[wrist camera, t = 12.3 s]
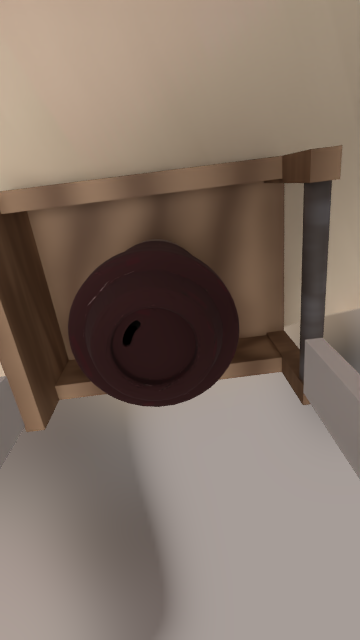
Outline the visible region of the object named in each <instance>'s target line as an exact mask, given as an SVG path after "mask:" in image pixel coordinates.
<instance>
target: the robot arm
mask: <svg viewBox="0 0 360 640" xmlns="http://www.w3.org/2000/svg"><path fill="white" fill-rule="evenodd" d="M303 393H304V394H305V396H306V397H307V399H308V400H309V402H310V404H311V405H312V407H313V408H314V410H315V411H316V413H317V414H318V416H319V417H320V419H321V420H322V422H323V423H324V425H325V427H326V428H327V430H328V431H329V433H330V434H331V436H332V437H333V439H334V440H335V442H336V443H337V445H338V446H339V448H340V450H341V451H342V453H343V454H344V456H345V457H346V459H347V460H348V462H349V463H350V465H351V466H352V468H353V469H354V471H355V473H356V474H357V476H358V477H359V478H360V374H359V373H358V372H357V371H356V370H355V369H354V368H353V367H352V366H351V365H350V364H349V363H348V362H347V361H346V360H345V359H344V358H343V357H342V356H340V354H339V353H338V352H336V351H335V349H334V348H333V347H332V346H331V345H330V344H329V343H328V342H327V341H326V340H325V339H324V338H316V339H307V340H305V358H304V388H303ZM24 427H25V425H24V422H23V420H22V417H21V414H20V412H19V409H18V406H17V404H16V401H15V398H14V396H13V393H12V390H11V387H10V385H9V382H8V379H7V377H6V376H4V377H0V468H1V467H2V465H3V463H4V462H5V460H6V458H7V456H8V455H9V453H10V451H11V449H12V448H13V446H14V444H15V442H16V440H17V439H18V437H19V436H20V434H21V432H22V430H23V429H24Z"/></svg>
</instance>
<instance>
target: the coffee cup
mask: <svg viewBox="0 0 360 640" xmlns="http://www.w3.org/2000/svg"><path fill="white" fill-rule="evenodd" d="M68 336H69V342H70V347H71V350H72V353H73V355H74V358H75V360H76V362H77V364H78V365H79V367H80V369H81V370H82V371H83V373H84V374H85V375H86V376H87V378H88V379H89V380H90V381H91V382H92V383H93V384H94V385H96V386H97V387H98V388H99V389H101V390H102V391H104V392H105V393H107V394H108V395H110V396H112V397H114V398H116V399H118V400H121V401H124V402H127V403H130V404H135V405H140V406H154V407H160V406H168V405H175V404H178V403H181V402H184V401H187V400H190V399H192V398H194V397H196V396H198V395H200V394H202V393H203V392H204V391H206V390H207V389H209V388H210V387H211V386H212V385H214V384H215V383H216V382H217V381H218V380H219V379H220V378H221V376H222V375H223V374H224V373H225V371H226V370H227V369H228V367H229V365H230V363H231V361H232V359H233V357H234V355H235V352H236V349H237V345H238V340H239V318H238V313H237V309H236V306H235V303H234V300H233V298H232V296H231V294H230V292H229V291H228V289H227V287H226V286H225V284H224V283H223V281H222V280H221V279H220V277H219V276H218V275H217V274H216V273H215V272H214V271H213V270H212V269H211V268H210V267H209V266H208V265H207V264H205V263H204V262H202V261H201V260H199V259H198V258H196V257H194V256H192V255H191V254H190V253H189V252H188V251H186V250H185V249H184V248H182V247H180V246H179V245H177V244H175V243H173V242H170V241H167V240H162V239H152V240H147V241H144V242H141V243H139V244H137V245H134V246H133V247H131V248H129V249H127V250H126V251H125V252H122V253H120V254H117V255H115V256H113V257H111V258H110V259H108V260H106V261H105V262H104V263H102V264H101V265H100V266H98V267H97V268H96V269H95V270H94V271H93V272H92V273H91V274H90V275H89V277H88V278H87V279H86V280H85V282H84V283H83V284H82V286H81V287H80V289H79V290H78V292H77V294H76V296H75V298H74V300H73V302H72V306H71V309H70V313H69V320H68Z"/></svg>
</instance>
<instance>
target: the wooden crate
mask: <svg viewBox="0 0 360 640" xmlns="http://www.w3.org/2000/svg"><path fill="white" fill-rule="evenodd" d="M341 157H342V145H341V146H333V147H325V148H317V149H310V150H306V151H301V152H297V153H292V154H288V155H284V156H277V157H269V158H261V159H253V160H245V161H238V162H230V163H222V164H214V165H206V166H198V167H190V168H182V169H174V170H166V171H159V172H151V173H143V174H135V175H127V176H119V177H111V178H103V179H95V180H88V181H80V182H72V183H64V184H56V185H48V186H40V187H32V188H24V189H16V190H9V191H1V192H0V362H1V365H2V367H3V370H4V373H5V375H6V377H7V379H8V382H9V385H10V387H11V390H12V393H13V396H14V398H15V401H16V404H17V406H18V409H19V412H20V414H21V417H22V420H23V422H24V425H25V429H26V431H27V432H30V431H38V430H45V428H46V426H47V424H48V422H49V420H50V418H51V416H52V414H53V412H54V410H55V407H56V405H57V403H58V401H59V400H62V399H70V398H78V397H85V396H94V395H102V394H107V393H105V392H104V391H102V390H101V389H99V388H98V387H97V386H96V385H94V384H93V383H92V382H91V381H90V380H89V379H88V378H87V376H86V375H85V374H84V373H83V371H82V370H81V369H80V367H79V365H78V364H77V362H76V360H75V358H74V355H73V353H72V350H71V347H70V342H69V336H68V320H69V313H70V309H71V306H72V302H73V300H74V298H75V296H76V294H77V292H78V290H79V289H80V287H81V286H82V284H83V283H84V282H85V280H86V279H87V278H88V277H89V275H90V274H91V273H92V272H93V271H94V270H95V269H96V268H97V267H98V266H100V265H101V264H102V263H104V262H105V261H106V260H108V259H110V258H111V257H113V256H115V255H117V254H120V253H122V252H125V251H126V250H127V249H129V248H131V247H133V246H134V245H137V244H139V243H141V242H144V241H147V240H152V239H162V240H167V241H170V242H173V243H175V244H177V245H179V246H180V247H182V248H184V249H185V250H186V251H188V252H189V253H190V254H191V255H192V256H194V257H196V258H198V259H199V260H201V261H202V262H204V263H205V264H207V265H208V266H209V267H210V268H211V269H212V270H213V271H214V272H215V273H216V274H217V275H218V276H219V277H220V279H221V280H222V281H223V283H224V284H225V286H226V287H227V289H228V291H229V292H230V294H231V296H232V298H233V300H234V303H235V306H236V309H237V313H238V318H239V340H238V345H237V349H236V352H235V355H234V357H233V359H232V361H231V363H230V365H229V367H228V369H227V370H226V371H225V373H224V374H223V375H222V376H221V378H220V379H228V378H236V377H244V376H251V375H259V374H267V373H275V372H282V373H283V374H284V376H285V377H286V379H287V381H288V382H289V384H290V385H291V387H292V389H293V390H294V392H295V393H296V395H297V396H298V398H299V399H300V401H301V403H302V404H303V405H308V404H310V402H309V400H308V399H307V397H306V396H305V394H304V393H303V388H304V358H305V340H307V339H316V338H323V332H324V313H325V295H326V277H327V259H328V241H329V223H330V205H331V187H332V180H337V179H340V172H341ZM284 183H304V208H303V247H302V286H301V325H300V326H301V327H300V349H299V348H298V347H297V346H296V345H295V343H294V342H293V341H292V340H291V339H290V337H289V336H288V335H287V334H286V332H285V331H284Z"/></svg>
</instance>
